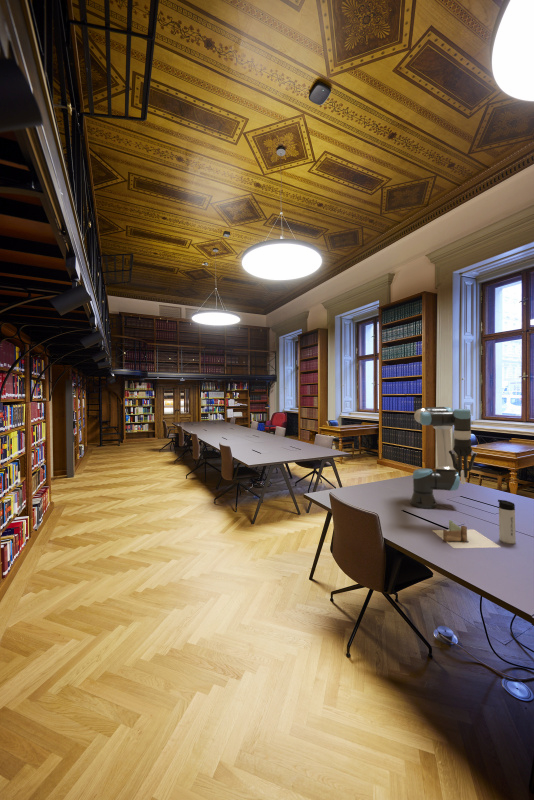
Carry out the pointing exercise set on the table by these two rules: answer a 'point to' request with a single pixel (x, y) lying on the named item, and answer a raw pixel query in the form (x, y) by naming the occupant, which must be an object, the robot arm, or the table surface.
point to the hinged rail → (453, 526)
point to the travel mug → (507, 522)
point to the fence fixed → (455, 535)
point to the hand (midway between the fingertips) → (463, 483)
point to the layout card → (470, 540)
